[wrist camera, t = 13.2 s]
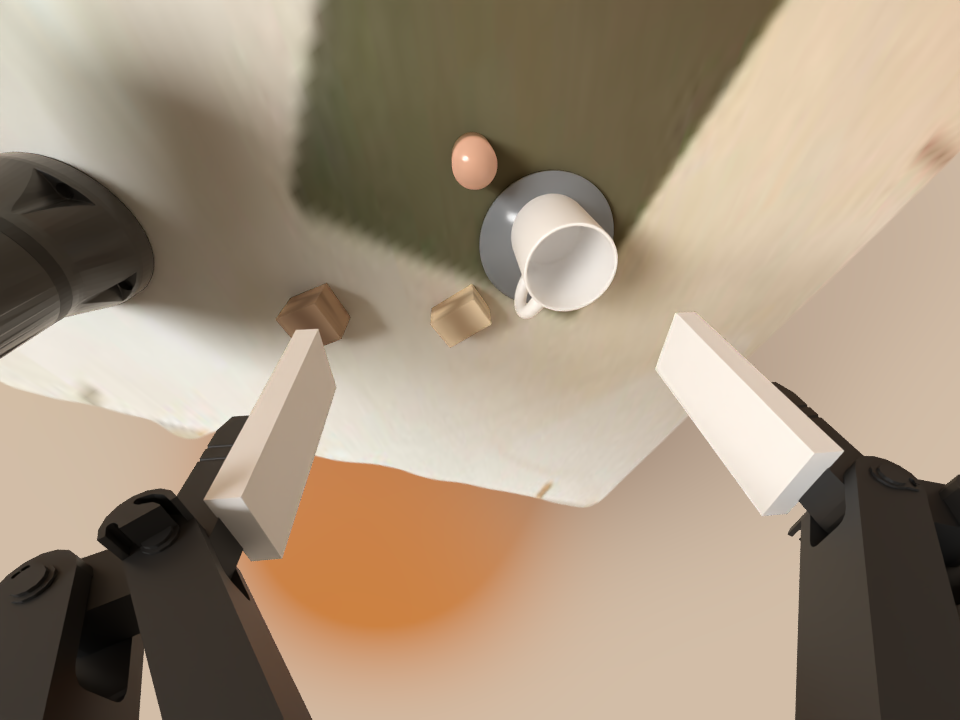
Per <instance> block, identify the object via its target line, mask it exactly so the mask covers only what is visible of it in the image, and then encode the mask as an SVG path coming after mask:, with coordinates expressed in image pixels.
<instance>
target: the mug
mask: <svg viewBox="0 0 960 720" xmlns="http://www.w3.org/2000/svg"><path fill="white" fill-rule="evenodd" d="M511 242H512V248H513V251H514V254H515V257H516V259H517V262H518V265H519V268H520V271H521V274H522V275H521V277H520V280H519V282H518V285H517V288H516V292H515V299H514V305H515V311H516V313H517V314H518V316H520V317H521V318H523V319H529V318H532V317H534V316H535V315H537V314H538V313H539V312H540V311H541V310H542V309H543V308H544V307H545V308H548V309H550V310H554V311H572V310H577V309H580V308H583V307H585V306H587V305H589V304H591V303H592V302H594V301H595V300H597V299H598V298H599V297H600V296H601V295H602V294H603V293H604V292H605V291H606V290H607V289H608V287H609V286H610V284H611V282H612V281H613V279H614V276H615V274H616V270H617V264H618V254H617V249H616V246H615V244H614V242H613V240H612V238H611V237H610V236H609V234H608V233H607V232H606V231H605V230H604V229H603V228H602V227H601V226H600V225H599V224H598V223H597V222H596V221H595V220H594V219H593V218H592V217H591V216H590V215H589V214H588V213H587V212H586V211H585V210H584V209H583V208H582V207H581V206H580V205H579V204H578V203H577V202H576V201H574V200H573V199H572V198H570V197H568V196H565V195H562V194H545V195H541V196H538V197H536V198H534V199H532V200H531V201H529V202H528V203H527V204H526V205H525V206H524V207H523V208H522V209H521V210H520V211H519V213H518V214H517V216H516V218H515V220H514V223H513V226H512V231H511ZM528 292H529V294H530V296H531V297H532V298H531V299H530V301H529V302H528V303H527V304H526V299H527V293H528Z"/></svg>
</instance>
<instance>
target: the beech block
mask: <svg viewBox="0 0 960 720" xmlns="http://www.w3.org/2000/svg"><path fill="white" fill-rule="evenodd" d="M491 324H492V322H491V316H490V310H489V307H488V306H487V304H486V303H485V301H484V300H483V299H482V297H481V296H480V294H479V293H478V292H477V290H476V289H475V287H474V286H473V285H472V284H471V285H469V286H468V287H466V288H465V289H463V290H461V291H460V292H458V293H456V294H455V295H453V296H451V297H450V298H448V299H446V300H445V301H443V302H441V303H440V304H438V305H437V306H435V307H433V308H432V311H431V323H430V325H431V326H432V327H433V328H434V330H435V331H436V332H437V333H438V334H439V336H440V337H441V338H442V339H443V340H444V341H445V343H446V344H447V345H448V346H449V347H450V348H451V347H452V346H454V345H456V344H458V343H460V342H461V341H463V340H465V339H467V338H468V337H470V336H472V335H474V334H476V333H477V332H479V331H481V330H483V329H484V328H486V327H488V326H490V325H491Z"/></svg>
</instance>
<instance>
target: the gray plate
mask: <svg viewBox="0 0 960 720" xmlns="http://www.w3.org/2000/svg"><path fill="white" fill-rule="evenodd" d="M545 194H562V195H565V196H568V197H570V198H572V199H573V200H574V201H576V202H577V203H578V204H579V205H580V206H581V207H582V208H583V209H584V210H585V211H586V212H587V213H588V214H589V215H590V216H591V217H592V218H593V219H594V220H595V221H596V222H597V223H598V224H599V225H600V226H601V227H602V228H603V229H604V230H605V231H606V232H607V233H608V234H609V236H610V237H611V238H612V240H613V235H614V223H613V216H612V213H611V209H610V207H609V205H608V202H607V200H606V199H605V197H604V196H603V194H602V193H601V192H600V191H599V189H598V188H597V187H596V186H594V185H593V184H592V183H591V182H589V181H588V180H587V179H585V178H583V177H581V176H580V175H577V174H575V173H572V172H568V171H563V170H544V171H539V172H535V173H531V174H529V175H526V176H524V177H522V178H520V179H518V180H516V181H515V182H513V183H512V184H511V185H509V186H508V187H507V188H505V189H504V190H503V191H502V192H501V193H500V194H499V195H498V197H497V198H496V199H495V200H494V202H493V203H492V205H491V206H490V208H489V209H488V211H487V213H486V216H485V218H484V220H483V223H482V227H481V231H480V239H479V249H480V257H481V261H482V265H483V268H484V270H485V273H486V274H487V276H488V278H489V279H490V281H491V282H492V284H493V285H494V286H495V287H496V288H497V289H498V290H499V291H501V292H502V293H503V294H505V295H506V296H508V297H510V298H512V299H515V292H516V288H517V285H518V282H519V280H520V277H521V275H522V274H521V271H520V268H519V265H518V262H517V259H516V257H515V254H514V251H513V248H512V242H511V231H512V226H513V223H514V220H515V218H516V216H517V214H518V213H519V211H520V210H521V209H522V208H523V207H524V206H525V205H526V204H527V203H528V202H529V201H531V200H532V199H534V198H536V197H538V196H541V195H545ZM531 298H532V297H531V296H530V294H529V292H528V293H527V299H526V303H528V302H529V301H530V299H531Z"/></svg>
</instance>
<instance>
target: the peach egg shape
mask: <svg viewBox="0 0 960 720" xmlns="http://www.w3.org/2000/svg"><path fill="white" fill-rule="evenodd" d="M452 170H453V174H454V176H455V178H456V180H457V181H458V182H459V183H460V184H461V185H462V186H464V187H465V188H468V189H472V190H478V189H482V188H484V187H486V186H487V185H489V184H490V183H491V181H492V180H493V179H494V177H495V175H496V171H497V158H496V154H495V152H494V150H493V149H492V147H491V145H490V143H489V141H488V140H487V139H486V138H485V137H484V136H483V135H481V134H479V133H476V132H468V133H465V134H463V135H461V136H460V137H459V138H458V139H457V140H456V142H455V144H454V146H453V149H452Z"/></svg>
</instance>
